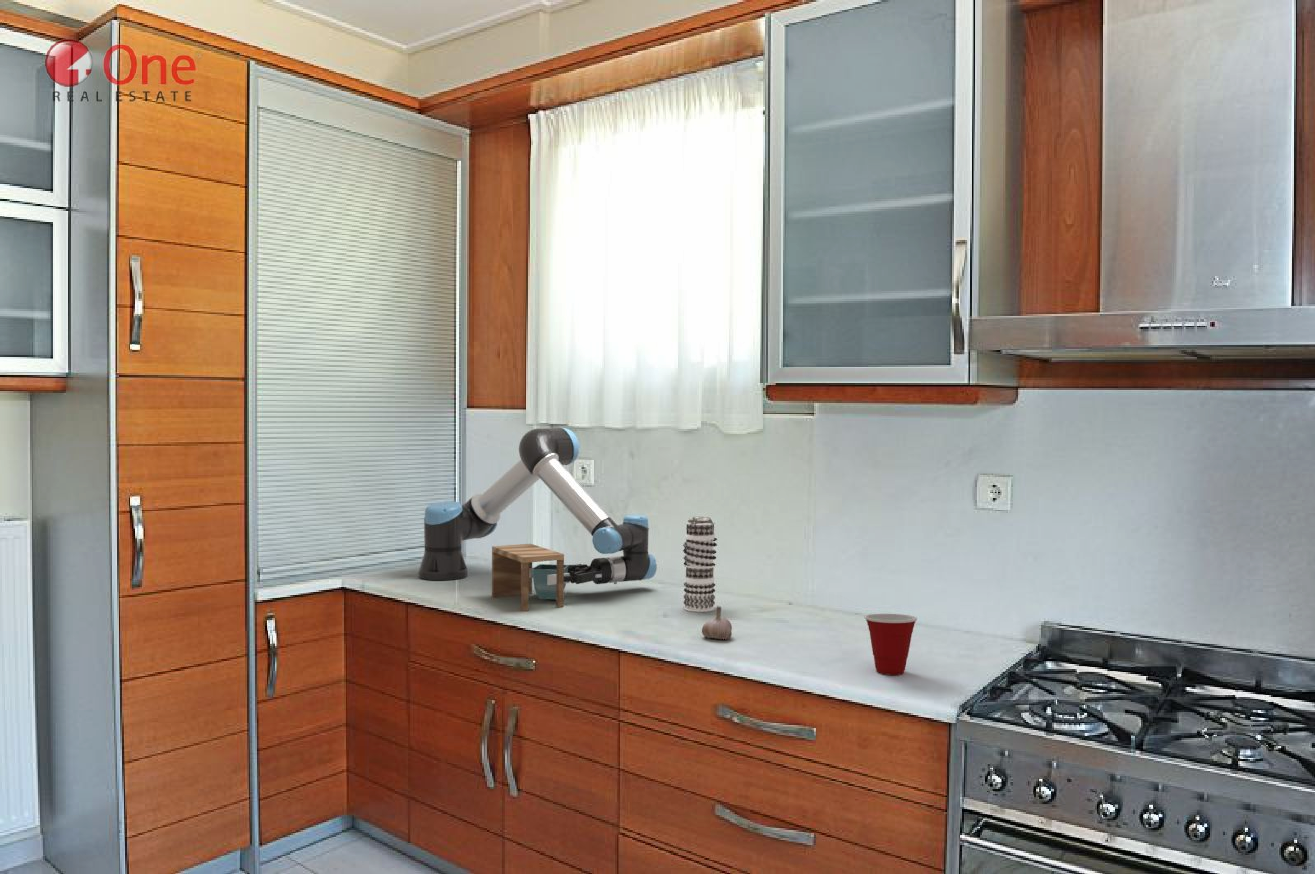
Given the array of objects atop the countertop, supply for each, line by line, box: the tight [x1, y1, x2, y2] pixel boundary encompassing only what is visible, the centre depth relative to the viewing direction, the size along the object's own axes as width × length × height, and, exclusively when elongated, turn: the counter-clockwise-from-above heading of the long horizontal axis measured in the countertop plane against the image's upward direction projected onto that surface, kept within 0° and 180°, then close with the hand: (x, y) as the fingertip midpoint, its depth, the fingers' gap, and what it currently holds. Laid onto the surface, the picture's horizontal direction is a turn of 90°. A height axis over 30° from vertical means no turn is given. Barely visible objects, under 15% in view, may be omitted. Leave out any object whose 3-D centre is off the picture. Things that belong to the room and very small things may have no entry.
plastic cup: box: [864, 613, 918, 676], centre depth 205 cm, size 11×11×12 cm
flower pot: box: [532, 563, 569, 601], centre depth 277 cm, size 9×9×9 cm
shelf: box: [491, 543, 565, 612], centre depth 273 cm, size 22×12×14 cm, turn 31°
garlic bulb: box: [701, 605, 733, 641], centre depth 233 cm, size 8×7×8 cm
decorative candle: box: [682, 516, 718, 613], centre depth 266 cm, size 9×9×25 cm
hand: (538, 576), depth 275 cm, fingers closed on flower pot, 12 cm apart
